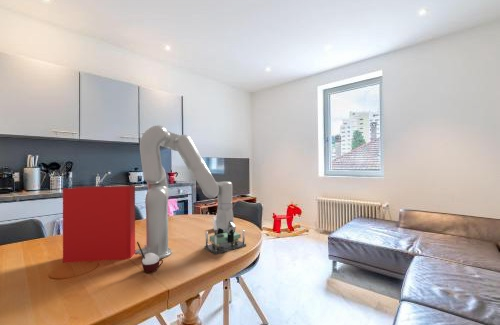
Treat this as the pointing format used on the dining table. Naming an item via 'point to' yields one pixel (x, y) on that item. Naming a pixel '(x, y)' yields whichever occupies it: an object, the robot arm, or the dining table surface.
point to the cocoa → (150, 261)
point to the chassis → (224, 245)
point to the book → (98, 223)
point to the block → (223, 232)
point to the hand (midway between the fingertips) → (225, 239)
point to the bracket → (214, 223)
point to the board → (224, 237)
